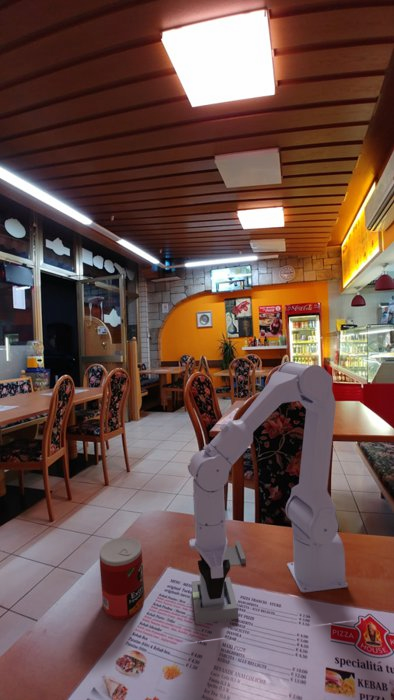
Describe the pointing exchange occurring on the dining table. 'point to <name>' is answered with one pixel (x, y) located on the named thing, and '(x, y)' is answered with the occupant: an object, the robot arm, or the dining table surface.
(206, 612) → the port
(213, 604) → the plug
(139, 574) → the canned food
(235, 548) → the grey ridged plate
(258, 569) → the dining table surface
